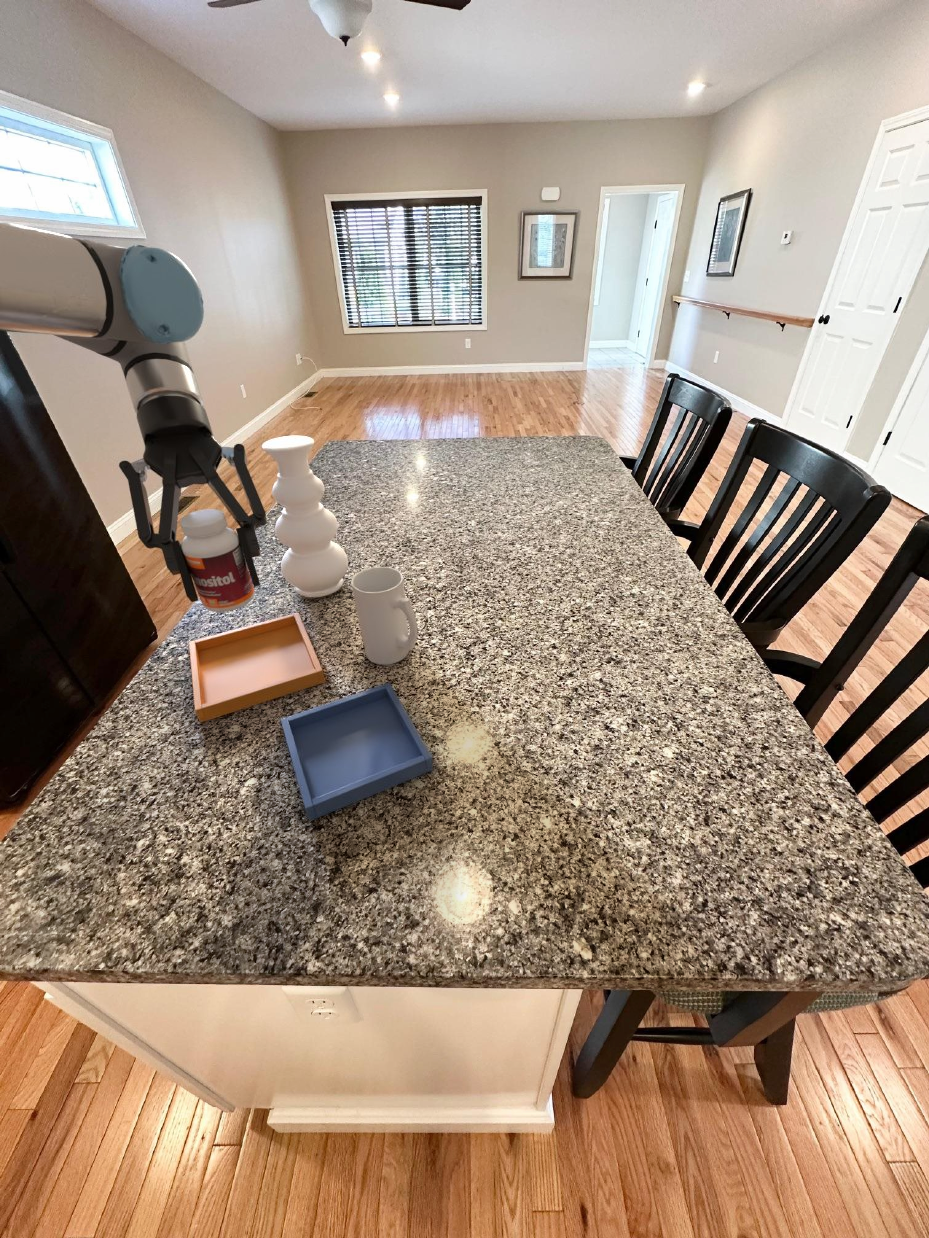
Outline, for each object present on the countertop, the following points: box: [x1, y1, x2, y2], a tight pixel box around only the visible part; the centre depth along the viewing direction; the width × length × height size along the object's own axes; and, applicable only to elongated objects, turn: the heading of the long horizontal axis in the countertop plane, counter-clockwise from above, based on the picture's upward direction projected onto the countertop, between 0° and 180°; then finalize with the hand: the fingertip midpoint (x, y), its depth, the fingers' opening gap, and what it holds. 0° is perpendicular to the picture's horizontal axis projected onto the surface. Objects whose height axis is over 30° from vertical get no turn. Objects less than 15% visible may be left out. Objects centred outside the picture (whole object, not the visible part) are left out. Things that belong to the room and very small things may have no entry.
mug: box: [350, 566, 419, 666], centre depth 69 cm, size 10×7×12 cm, turn 49°
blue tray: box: [280, 682, 434, 822], centre depth 58 cm, size 14×14×2 cm
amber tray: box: [188, 612, 326, 723], centre depth 71 cm, size 16×16×2 cm
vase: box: [261, 435, 349, 598], centre depth 82 cm, size 11×11×25 cm
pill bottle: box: [179, 508, 256, 613], centre depth 60 cm, size 6×6×11 cm
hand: (225, 590), depth 59 cm, fingers closed on pill bottle, 6 cm apart
